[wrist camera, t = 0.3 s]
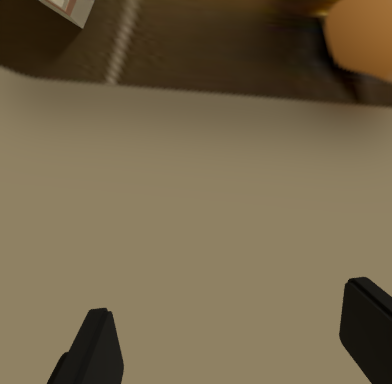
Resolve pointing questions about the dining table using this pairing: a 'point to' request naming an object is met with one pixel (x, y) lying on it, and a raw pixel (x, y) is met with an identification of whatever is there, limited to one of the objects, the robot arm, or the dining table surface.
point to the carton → (71, 9)
